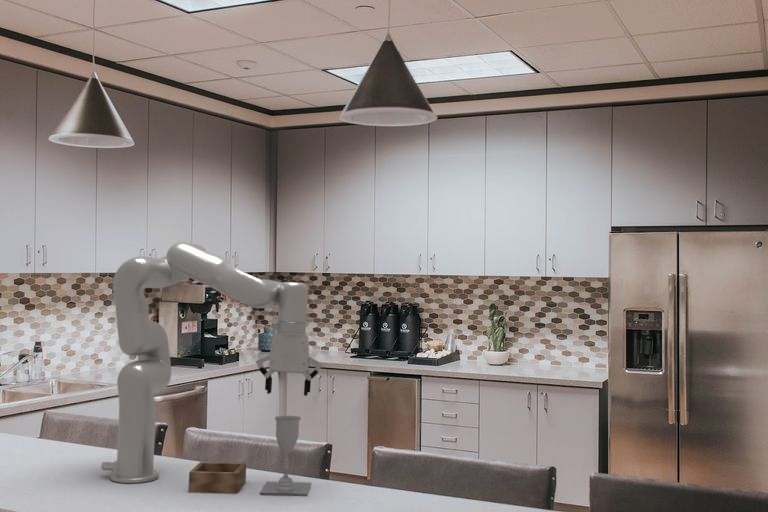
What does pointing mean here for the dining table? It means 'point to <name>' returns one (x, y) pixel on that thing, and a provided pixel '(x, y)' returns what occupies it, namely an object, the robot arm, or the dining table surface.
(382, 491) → the dining table surface
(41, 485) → the dining table surface
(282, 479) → the chalice
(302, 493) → the coaster
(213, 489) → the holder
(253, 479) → the dining table surface
